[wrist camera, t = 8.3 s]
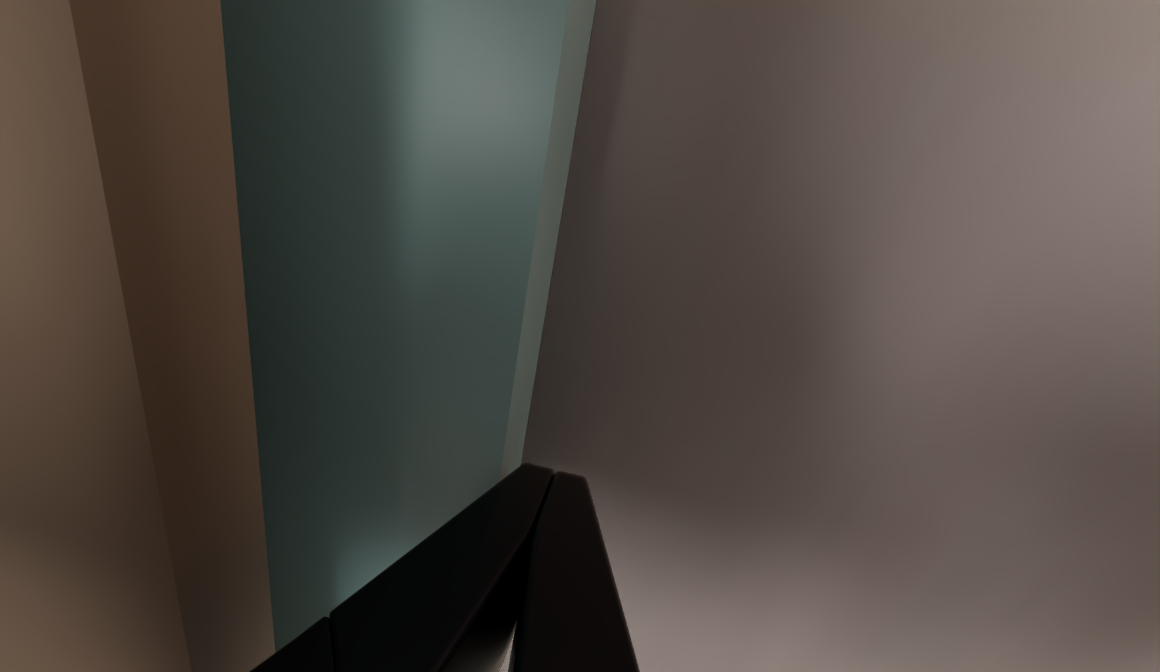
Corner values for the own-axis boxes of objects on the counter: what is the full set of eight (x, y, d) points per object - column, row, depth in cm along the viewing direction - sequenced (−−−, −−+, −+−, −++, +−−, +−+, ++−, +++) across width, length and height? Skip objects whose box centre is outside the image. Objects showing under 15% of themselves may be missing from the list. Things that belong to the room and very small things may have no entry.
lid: (605, -16, 7) (572, -27, 5) (492, 663, 13) (457, 767, 11) (-323, -195, 8) (-613, -255, 6) (-49, 512, 14) (-161, 585, 12)
